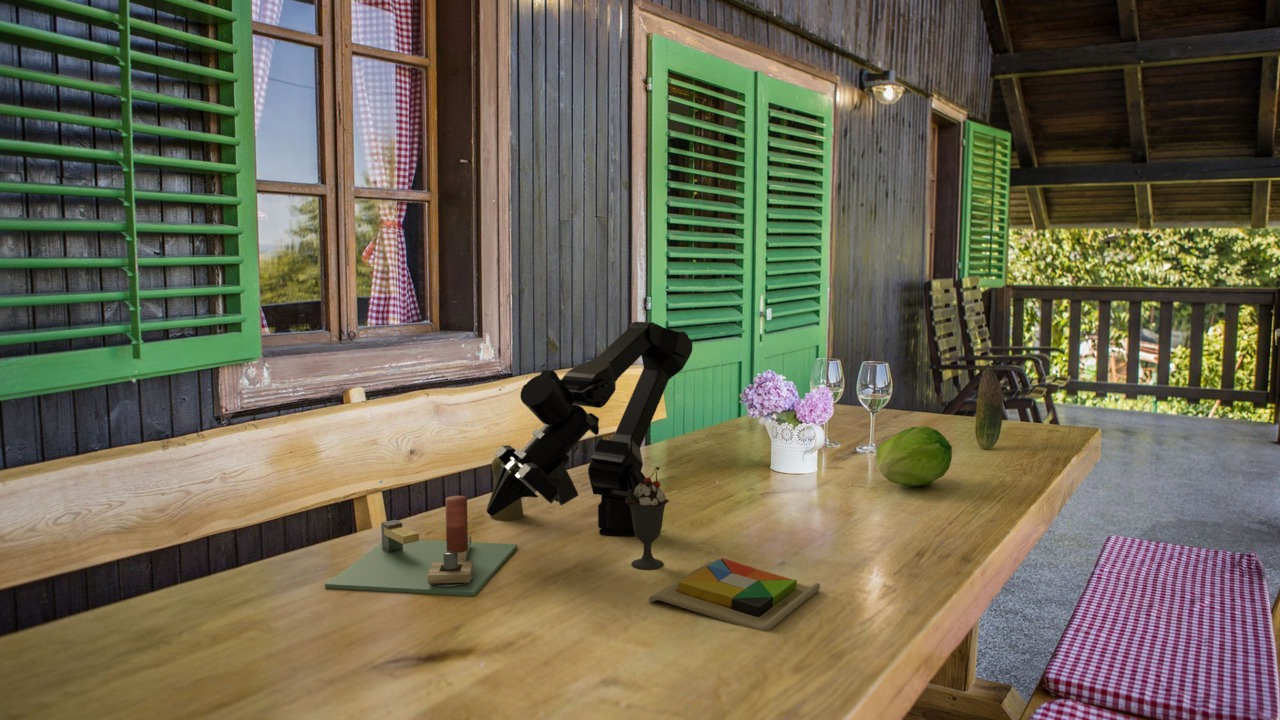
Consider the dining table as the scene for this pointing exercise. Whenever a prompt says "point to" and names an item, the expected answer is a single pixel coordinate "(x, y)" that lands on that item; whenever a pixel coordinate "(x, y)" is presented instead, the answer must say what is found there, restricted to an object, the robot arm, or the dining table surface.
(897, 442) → the green oval lump
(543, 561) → the dining table surface
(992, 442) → the vegetable
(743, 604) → the wooden puzzle
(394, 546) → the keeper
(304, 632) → the dining table surface
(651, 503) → the sundae
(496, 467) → the cork
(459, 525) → the latch bar
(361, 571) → the latch board
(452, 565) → the pintle
